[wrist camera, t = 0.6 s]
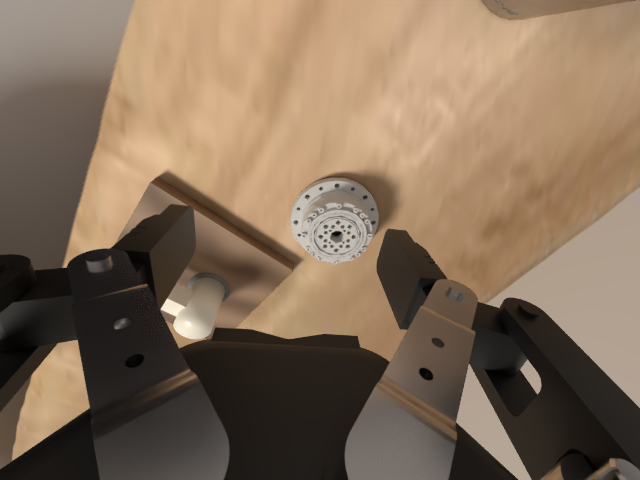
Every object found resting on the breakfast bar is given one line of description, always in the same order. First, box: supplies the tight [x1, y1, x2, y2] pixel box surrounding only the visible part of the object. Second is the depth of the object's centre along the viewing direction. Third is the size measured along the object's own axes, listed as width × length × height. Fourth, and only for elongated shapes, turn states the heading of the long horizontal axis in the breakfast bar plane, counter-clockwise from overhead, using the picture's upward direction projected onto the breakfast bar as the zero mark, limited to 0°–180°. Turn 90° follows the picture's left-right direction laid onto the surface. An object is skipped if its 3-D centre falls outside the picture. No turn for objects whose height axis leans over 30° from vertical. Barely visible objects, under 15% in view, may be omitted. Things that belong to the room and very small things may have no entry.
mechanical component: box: [291, 177, 379, 264], centre depth 32 cm, size 10×4×10 cm
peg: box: [161, 277, 225, 339], centre depth 32 cm, size 4×13×6 cm, turn 49°
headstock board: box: [115, 177, 293, 339], centre depth 36 cm, size 18×18×2 cm
